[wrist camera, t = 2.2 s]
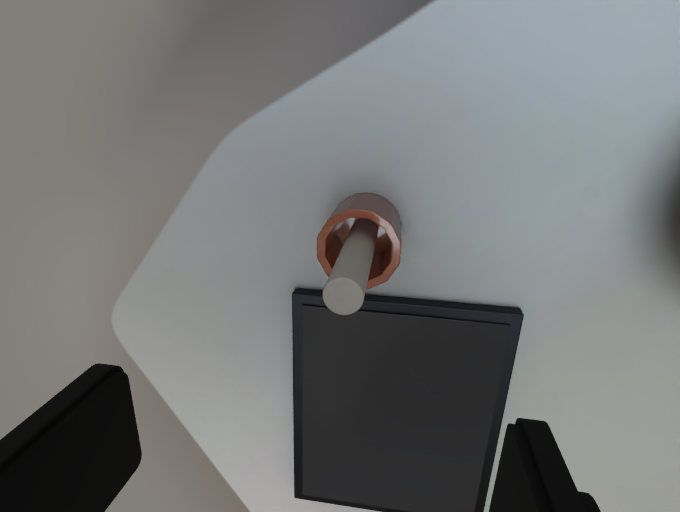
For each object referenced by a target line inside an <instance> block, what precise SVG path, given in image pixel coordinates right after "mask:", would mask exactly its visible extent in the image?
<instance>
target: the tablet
mask: <svg viewBox="0 0 680 512" xmlns="http://www.w3.org/2000/svg"><path fill="white" fill-rule="evenodd" d="M523 316H524V315H523V313H522V311H521V309H520V308H511V307H500V306H489V305H477V304H466V303H455V302H444V301H433V300H422V299H411V298H399V297H388V296H377V295H366V294H365V296H364V301H363V304H362V306H361V307H360V308H359V310H357V311H356V312H354V313H352V314H348V315H340V314H337V313H334V312H333V311H331V310H330V309H329V308H328V307H327V306H326V304H325V303H324V300H323V291H322V290H310V289H299V288H295V290H294V292H293V293H292V319H293V409H294V497H295V498H299V499H305V500H311V501H318V502H324V503H330V504H337V505H343V506H350V507H356V508H362V509H369V510H375V511H381V512H483V511H484V506H485V501H486V497H487V492H488V487H489V482H490V477H491V472H492V467H493V462H494V457H495V453H496V448H497V443H498V438H499V433H500V428H501V423H502V418H503V413H504V409H505V404H506V399H507V394H508V389H509V384H510V379H511V374H512V370H513V365H514V360H515V355H516V350H517V345H518V340H519V335H520V330H521V326H522V321H523Z"/></svg>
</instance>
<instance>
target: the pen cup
mask: <svg viewBox="0 0 680 512" xmlns="http://www.w3.org/2000/svg"><path fill="white" fill-rule="evenodd" d="M361 219H367V220H370V221H372V222H373V223H374V224H375V225H376V227H377V230H378V236H377V240H376V245H375V250H374V254H373V259H372V264H371V268H370V273H369V278H368V282H367V287H366V289H370V288H372V287H374V286H377V285H379V284H381V283H384V282H386V281H387V280H388V279H389V278H390V276H391V275H392V274H393V272H394V271H395V270H396V268H397V267H398V266H399V263H400V253H401V233H402V223H401V220H400V217H399V215H398V212H397V210H396V209H395V207H394V206H393V205H392V204H391V203H390V202H389V201H388V200H386V199H385V198H383V197H381V196H379V195H376V194H373V193H358V194H355V195H352V196H350V197H348V198H346V199H345V200H344V201H342V202H340V203H339V205H338V206H337V207H336V209H335V210H334V212H333V213H332V215H331V216H330V217H329V219H328V220H327V222H326V224H325V225H324V227H323V228H322V230H321V231H320V233H319V235H318V237H317V257H318V260H319V262H320V264H321V265H322V267H323V269H324V271H325V273H326V274H327V276H328V277H329V276H330V273H331V271H332V269H333V267H334V265H335V262H336V260H337V258H338V256H339V254H340V251H341V249H342V247H343V245H344V243H345V240H346V238H347V236H348V234H349V232H350V229H351V227H352V225H353V224H354V223H355V222H356V221H358V220H361Z"/></svg>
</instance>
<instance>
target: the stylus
mask: <svg viewBox="0 0 680 512" xmlns="http://www.w3.org/2000/svg"><path fill="white" fill-rule="evenodd" d="M377 236H378V230H377V227H376V225H375V224H374V223H373V222H372V221H370V220H367V219H361V220H358V221H356V222H355V223H354V224H353V225H352V227H351V229H350V232H349V234H348V236H347V238H346V240H345V243H344V245H343V247H342V249H341V251H340V254H339V256H338V258H337V260H336V262H335V265H334V267H333V269H332V271H331V273H330V276H329V278H328V280H327V282H326V284H325V287H324V289H323V300H324V303H325V304H326V306H327V307H328V308H329V309H330V310H331V311H333V312H334V313H337V314H340V315H348V314H352V313H354V312H356V311H357V310H359V308H360V307H361V306H362V304H363V301H364V296H365V292H366V287H367V282H368V278H369V273H370V268H371V264H372V259H373V254H374V250H375V245H376V240H377Z"/></svg>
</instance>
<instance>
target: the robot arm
mask: <svg viewBox="0 0 680 512" xmlns="http://www.w3.org/2000/svg"><path fill="white" fill-rule="evenodd" d="M141 455H142V454H141V447H140V442H139V435H138V430H137V424H136V418H135V413H134V407H133V401H132V396H131V390H130V385H129V379H128V375H127V374H126V373H124V371H123V369H122V368H121V367H119V366H114V365H107V364H95V365H93V366H91V367H90V368H89V369H88V370H87V371H85V372H84V373H83V374H81V375H80V376H79V377H78V378H77V379H75V380H74V381H73V382H71V383H70V384H69V385H68V386H67V387H65V388H64V389H63V390H62V391H60V392H59V393H58V394H57V395H55V396H54V397H53V398H52V399H50V400H49V401H48V402H47V403H46V404H44V405H43V406H42V407H41V408H39V409H38V410H37V411H36V412H34V413H33V414H32V415H31V416H29V417H28V418H27V419H26V420H24V421H23V422H22V423H21V424H20V425H18V426H17V427H16V428H14V429H13V430H12V431H11V432H10V433H8V434H7V435H6V436H5V437H4V438H2V439H1V440H0V512H105V510H106V509H107V508H108V506H109V505H110V504H111V502H112V501H113V500H114V498H115V497H116V496H117V495H118V493H119V492H120V491H121V489H122V488H123V487H124V485H125V484H126V483H127V481H128V480H129V479H130V477H131V476H132V474H133V473H134V472H135V471H136V469H137V468H138V466H139V464H140V461H141ZM489 512H601V511H600V509H599V507H598V505H597V504H596V502H595V500H594V498H593V497H592V496H591V495H590V494H589V493H585V492H578V491H577V489H576V486H575V484H574V482H573V479H572V477H571V475H570V473H569V470H568V468H567V466H566V464H565V461H564V459H563V457H562V455H561V452H560V450H559V448H558V446H557V443H556V441H555V439H554V437H553V434H552V432H551V430H550V428H549V426H548V424H547V423H546V422H545V421H539V420H531V419H523V418H518V419H517V420H516V423H515V424H508V425H507V429H506V433H505V438H504V443H503V447H502V452H501V457H500V462H499V466H498V471H497V476H496V480H495V485H494V490H493V495H492V499H491V504H490V509H489Z"/></svg>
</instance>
